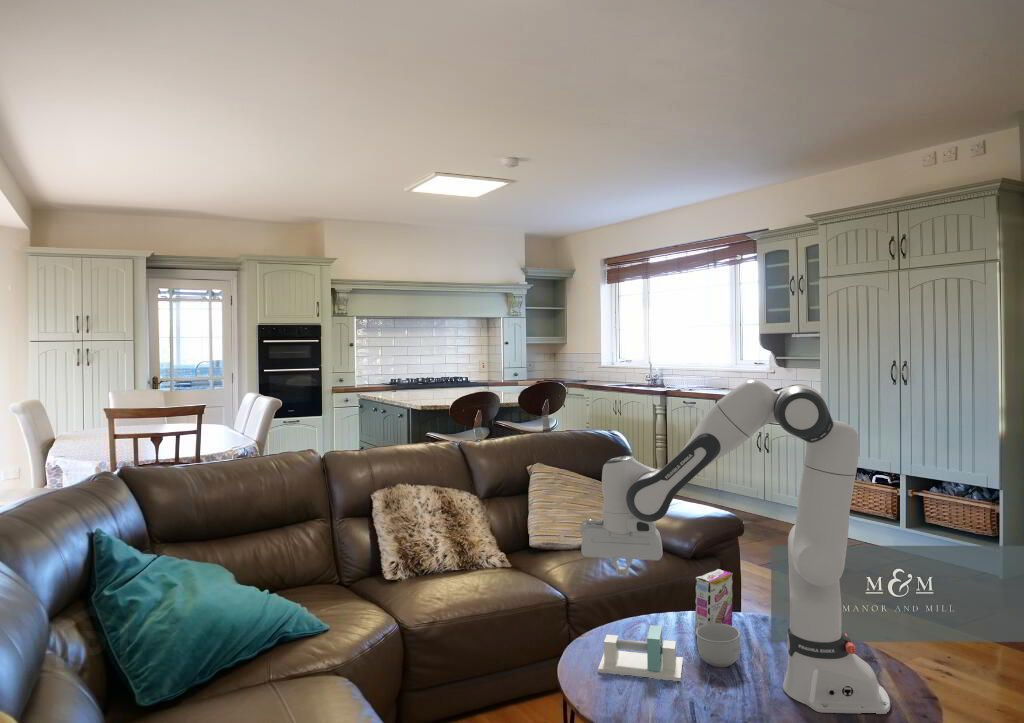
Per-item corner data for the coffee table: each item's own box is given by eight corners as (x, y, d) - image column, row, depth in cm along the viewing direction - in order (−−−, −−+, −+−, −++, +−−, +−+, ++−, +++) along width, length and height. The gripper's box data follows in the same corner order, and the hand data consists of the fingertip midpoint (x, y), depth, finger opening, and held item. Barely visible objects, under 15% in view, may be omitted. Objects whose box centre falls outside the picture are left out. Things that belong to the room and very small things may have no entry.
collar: (662, 656, 185) (662, 626, 185) (659, 671, 177) (659, 639, 177) (650, 655, 186) (650, 625, 186) (647, 670, 178) (647, 638, 178)
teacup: (742, 673, 178) (742, 641, 178) (697, 670, 180) (697, 638, 180) (736, 648, 192) (736, 618, 191) (694, 645, 194) (694, 616, 194)
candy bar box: (710, 641, 196) (709, 582, 195) (694, 635, 200) (694, 577, 199) (733, 629, 203) (733, 572, 203) (718, 624, 207) (718, 567, 206)
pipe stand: (683, 661, 185) (682, 635, 185) (680, 681, 175) (680, 654, 174) (605, 652, 191) (604, 628, 190) (598, 672, 180) (597, 646, 180)
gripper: (577, 522, 182) (579, 576, 183) (660, 525, 176) (661, 581, 177) (582, 516, 188) (584, 568, 189) (662, 518, 182) (664, 572, 183)
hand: (622, 574), depth 183 cm, fingers closed
